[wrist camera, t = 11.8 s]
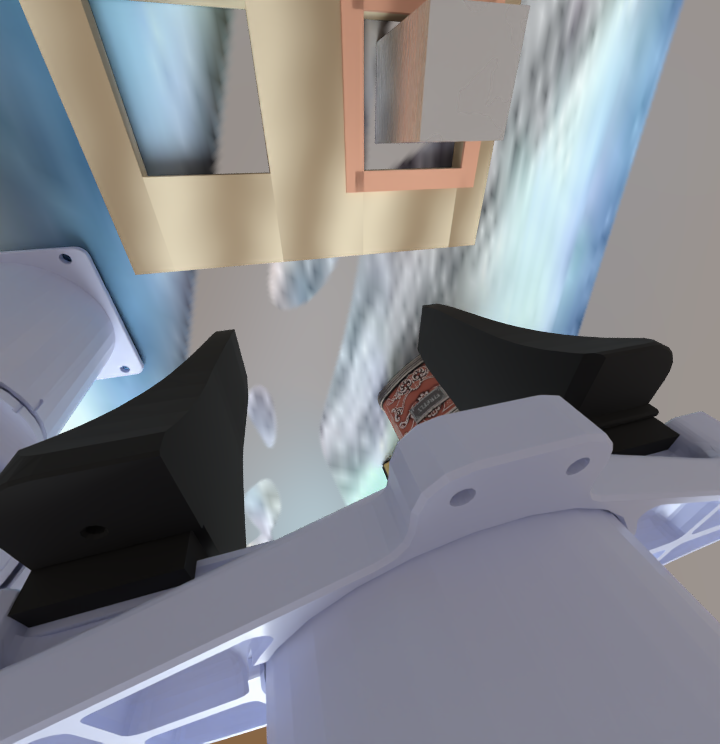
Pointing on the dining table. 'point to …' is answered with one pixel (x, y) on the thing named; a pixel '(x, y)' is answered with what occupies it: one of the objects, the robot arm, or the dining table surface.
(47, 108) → the dining table surface
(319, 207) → the rail
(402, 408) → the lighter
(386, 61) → the steel peg
